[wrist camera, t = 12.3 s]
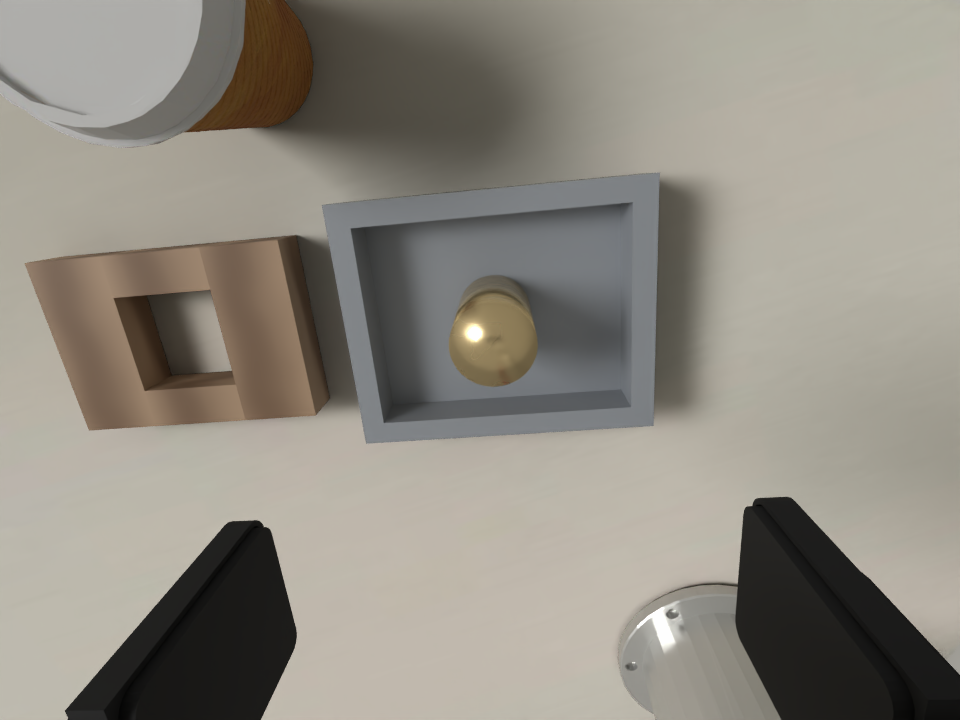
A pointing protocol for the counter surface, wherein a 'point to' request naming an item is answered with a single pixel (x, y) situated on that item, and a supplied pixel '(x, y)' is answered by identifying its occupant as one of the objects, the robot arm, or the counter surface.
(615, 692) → the counter surface
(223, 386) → the block
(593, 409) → the slate tray
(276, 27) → the disposable coffee cup
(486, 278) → the pin
